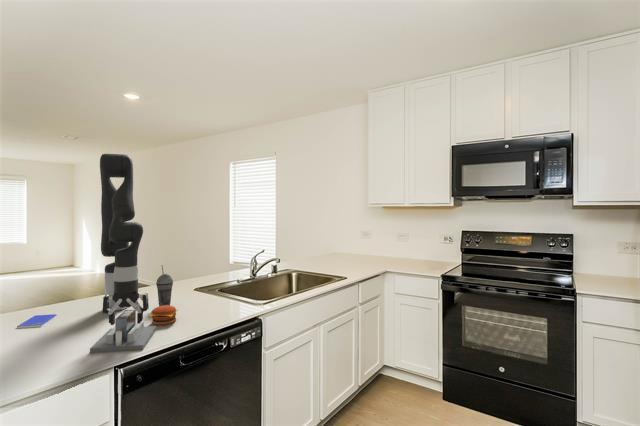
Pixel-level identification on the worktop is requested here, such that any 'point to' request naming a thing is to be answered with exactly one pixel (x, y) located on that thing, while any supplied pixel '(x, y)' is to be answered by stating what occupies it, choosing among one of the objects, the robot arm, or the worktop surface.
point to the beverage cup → (164, 289)
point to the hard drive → (37, 321)
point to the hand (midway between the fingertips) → (126, 323)
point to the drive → (125, 323)
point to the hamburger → (163, 315)
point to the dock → (135, 341)
